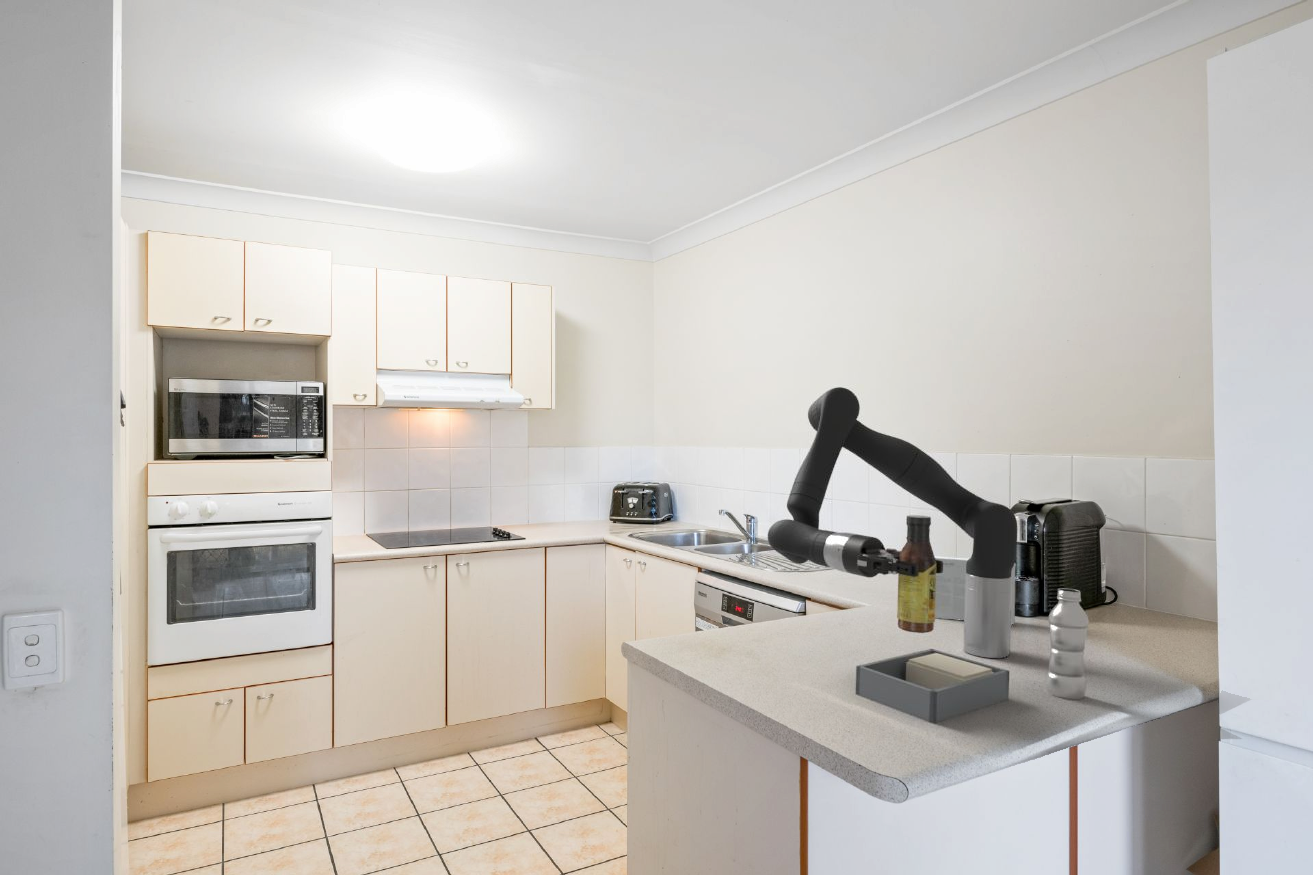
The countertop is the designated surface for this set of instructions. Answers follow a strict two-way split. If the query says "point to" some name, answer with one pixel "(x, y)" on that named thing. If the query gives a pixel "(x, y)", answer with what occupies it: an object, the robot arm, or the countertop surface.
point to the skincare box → (958, 589)
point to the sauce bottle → (917, 579)
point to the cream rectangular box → (941, 671)
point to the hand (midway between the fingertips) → (929, 568)
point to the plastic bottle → (1067, 646)
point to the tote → (894, 691)
